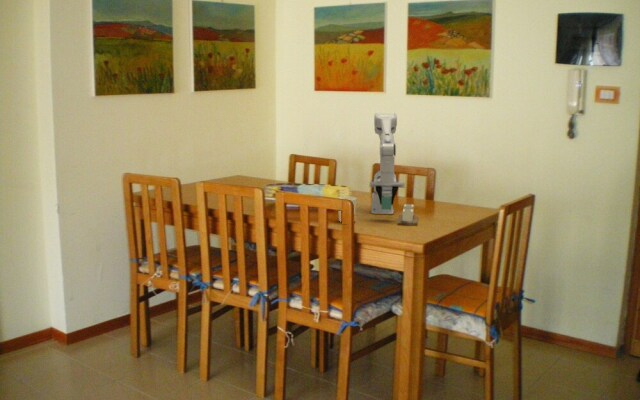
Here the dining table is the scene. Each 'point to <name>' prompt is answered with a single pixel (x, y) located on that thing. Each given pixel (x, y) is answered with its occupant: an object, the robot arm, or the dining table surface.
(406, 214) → the block
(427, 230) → the dining table surface
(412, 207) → the mounted module
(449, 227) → the dining table surface
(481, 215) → the dining table surface
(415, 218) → the mounting board
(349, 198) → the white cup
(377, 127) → the robot arm
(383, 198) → the block
